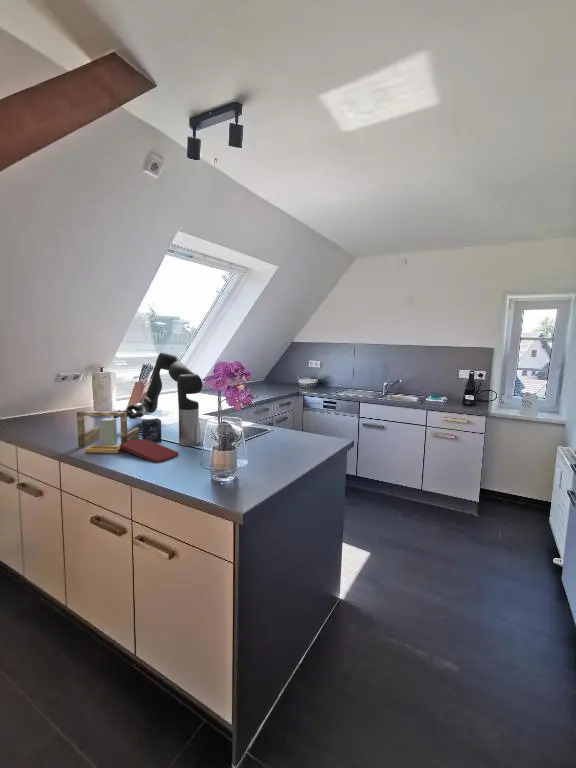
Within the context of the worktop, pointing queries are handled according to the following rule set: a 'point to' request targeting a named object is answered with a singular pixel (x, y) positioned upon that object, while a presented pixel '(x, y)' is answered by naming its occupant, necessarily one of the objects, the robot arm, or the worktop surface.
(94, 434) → the tunnel
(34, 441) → the worktop surface
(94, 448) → the tray
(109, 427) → the block
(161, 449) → the dark red bent panel
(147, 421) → the box
